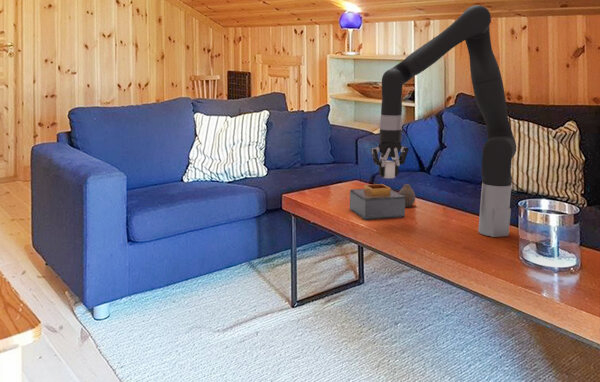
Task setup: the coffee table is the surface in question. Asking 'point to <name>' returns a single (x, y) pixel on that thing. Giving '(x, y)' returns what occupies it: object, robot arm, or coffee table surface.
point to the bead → (389, 169)
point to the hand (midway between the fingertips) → (388, 176)
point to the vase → (408, 195)
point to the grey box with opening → (377, 202)
